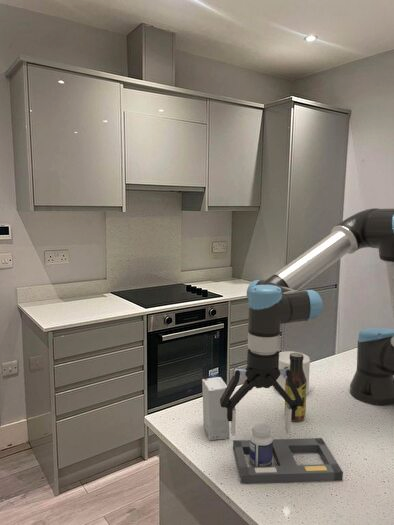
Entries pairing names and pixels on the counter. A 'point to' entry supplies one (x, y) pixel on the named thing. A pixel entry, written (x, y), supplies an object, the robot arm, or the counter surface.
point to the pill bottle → (261, 445)
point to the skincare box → (214, 409)
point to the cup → (285, 362)
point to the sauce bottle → (297, 384)
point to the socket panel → (288, 463)
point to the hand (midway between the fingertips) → (260, 432)
